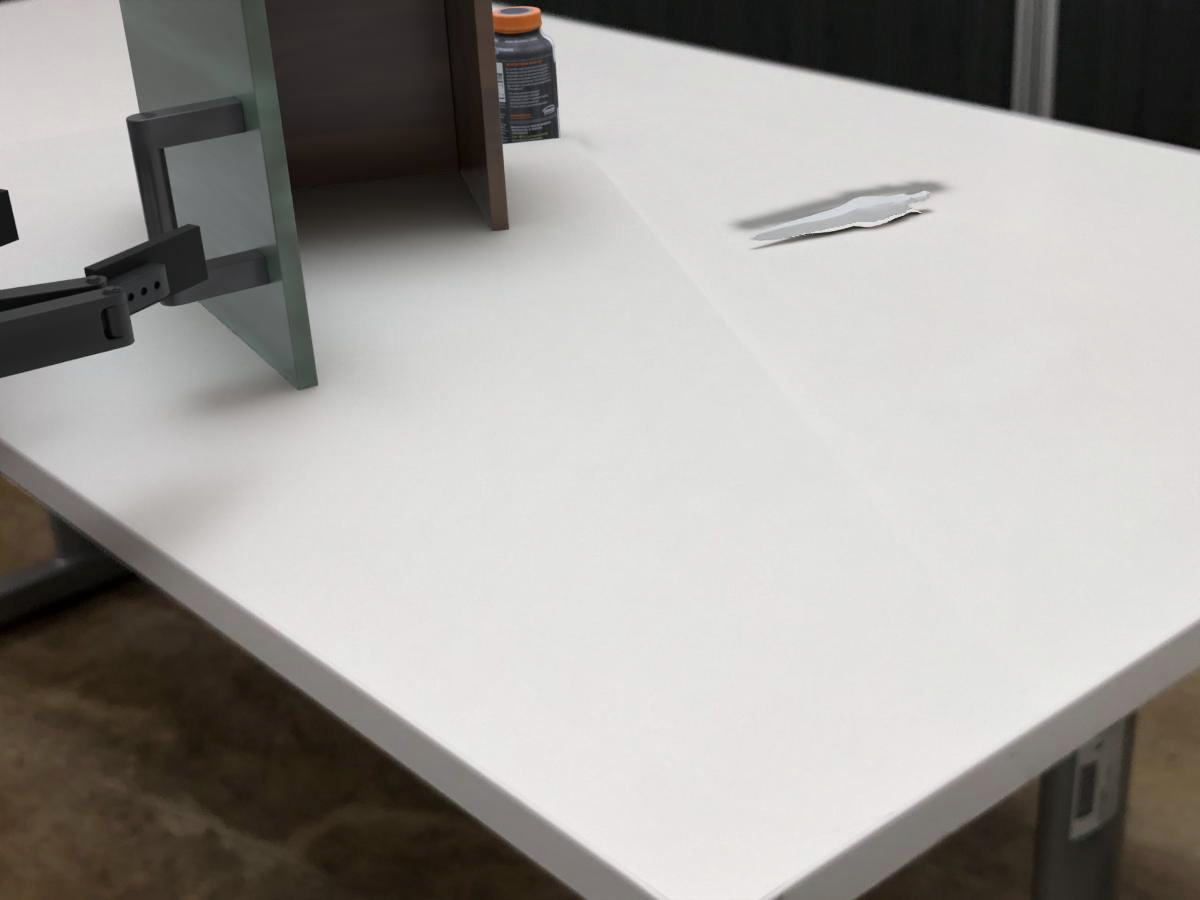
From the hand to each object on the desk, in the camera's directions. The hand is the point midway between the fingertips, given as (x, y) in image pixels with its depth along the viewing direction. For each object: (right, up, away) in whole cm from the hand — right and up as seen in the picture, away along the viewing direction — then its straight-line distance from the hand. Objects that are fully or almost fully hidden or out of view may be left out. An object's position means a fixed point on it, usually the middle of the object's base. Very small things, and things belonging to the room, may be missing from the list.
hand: (100, 231), depth 79 cm
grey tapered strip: (+42, +4, +32) cm, 53 cm away
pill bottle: (+19, +14, +53) cm, 58 cm away
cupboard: (+6, +5, +35) cm, 36 cm away
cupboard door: (+1, -6, +16) cm, 17 cm away
